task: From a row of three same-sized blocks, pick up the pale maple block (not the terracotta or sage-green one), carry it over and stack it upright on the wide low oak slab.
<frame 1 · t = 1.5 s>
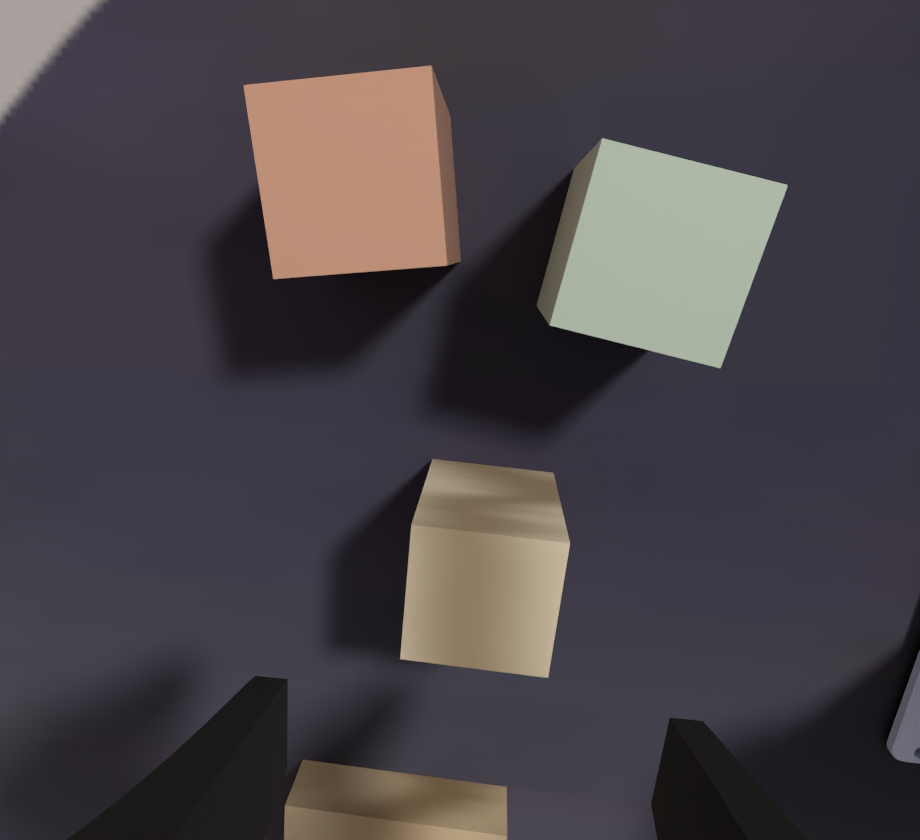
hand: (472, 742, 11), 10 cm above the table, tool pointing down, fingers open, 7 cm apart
maple block: (486, 520, 21), on the table
sage block: (619, 255, 18), on the table
terracotta block: (388, 196, 18), on the table
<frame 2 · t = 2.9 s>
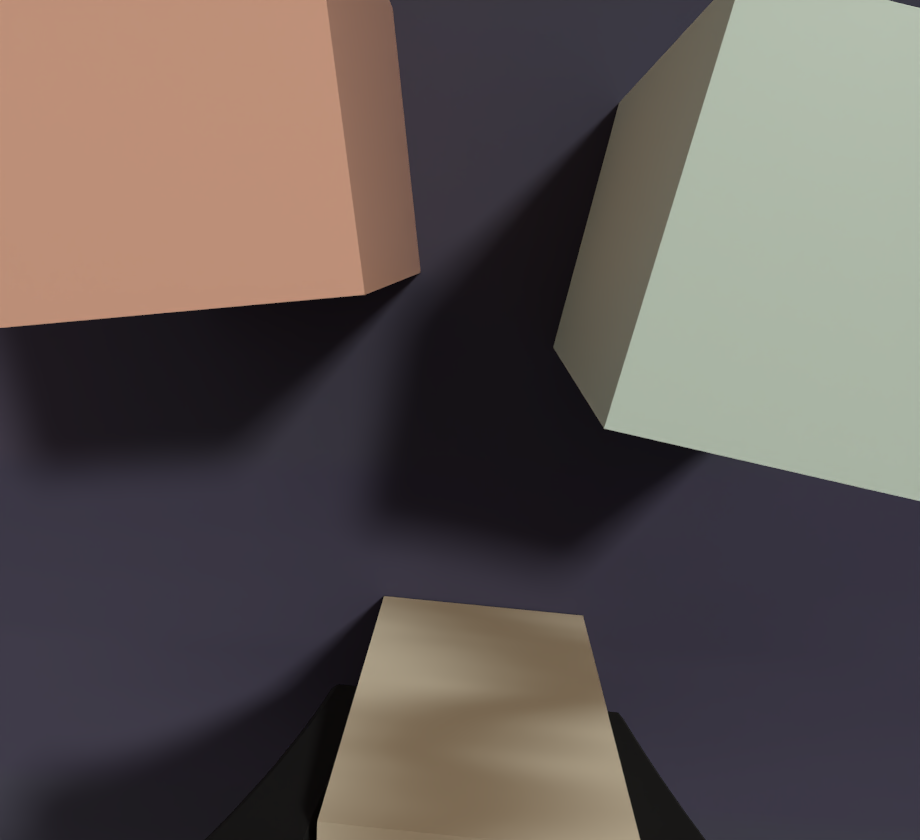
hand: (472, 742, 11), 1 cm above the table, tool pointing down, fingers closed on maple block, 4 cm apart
maple block: (474, 689, 13), on the table, touching gripper
sage block: (698, 258, 10), on the table
terracotta block: (288, 160, 10), on the table
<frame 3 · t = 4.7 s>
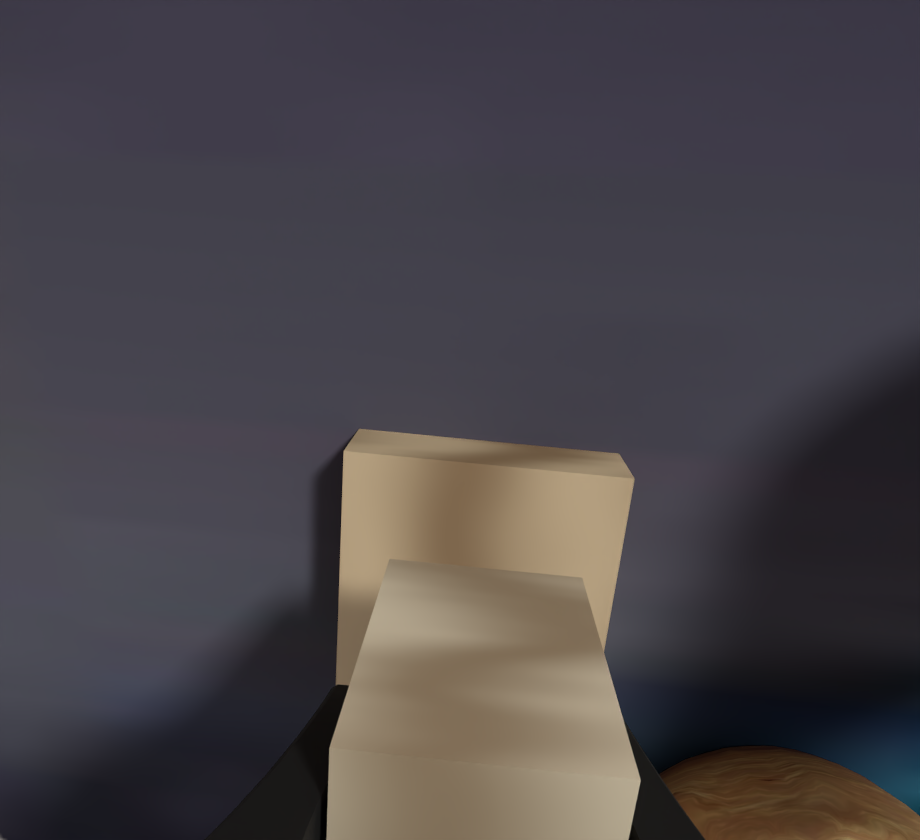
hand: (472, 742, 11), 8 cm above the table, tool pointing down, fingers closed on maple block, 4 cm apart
maple block: (476, 651, 13), point 6 cm above the table, touching gripper
oak slab: (476, 551, 20), on the table
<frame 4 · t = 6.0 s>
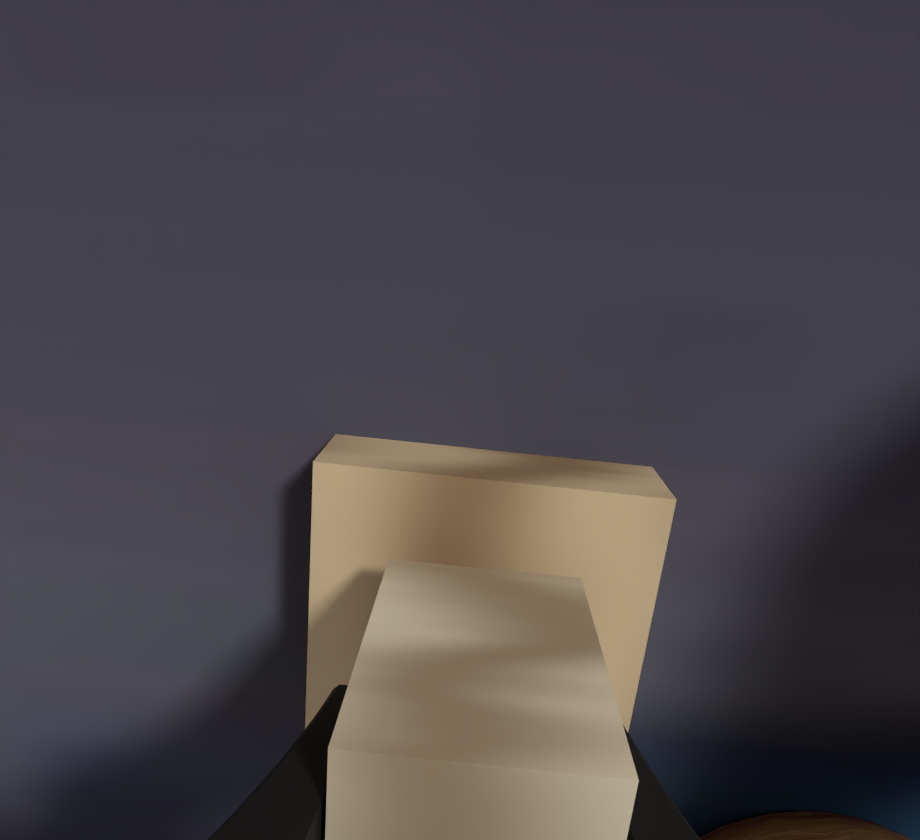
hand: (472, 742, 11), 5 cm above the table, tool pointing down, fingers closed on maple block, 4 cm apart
maple block: (475, 651, 13), point 3 cm above the table, touching gripper
oak slab: (477, 581, 17), on the table
when the fingers open (5 cm above the table, at t = 6.2 s): maple block drops 1 cm, resting on oak slab.
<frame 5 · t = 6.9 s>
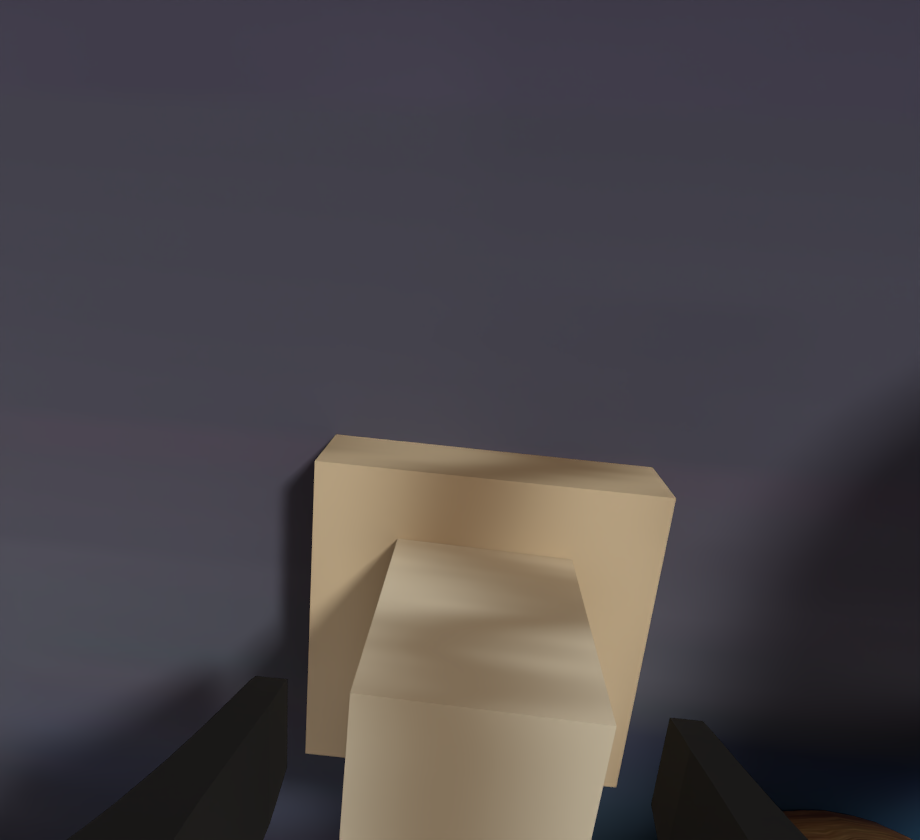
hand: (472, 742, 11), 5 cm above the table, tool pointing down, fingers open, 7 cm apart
maple block: (474, 624, 14), point 2 cm above the table, touching oak slab
oak slab: (477, 580, 17), on the table, touching maple block
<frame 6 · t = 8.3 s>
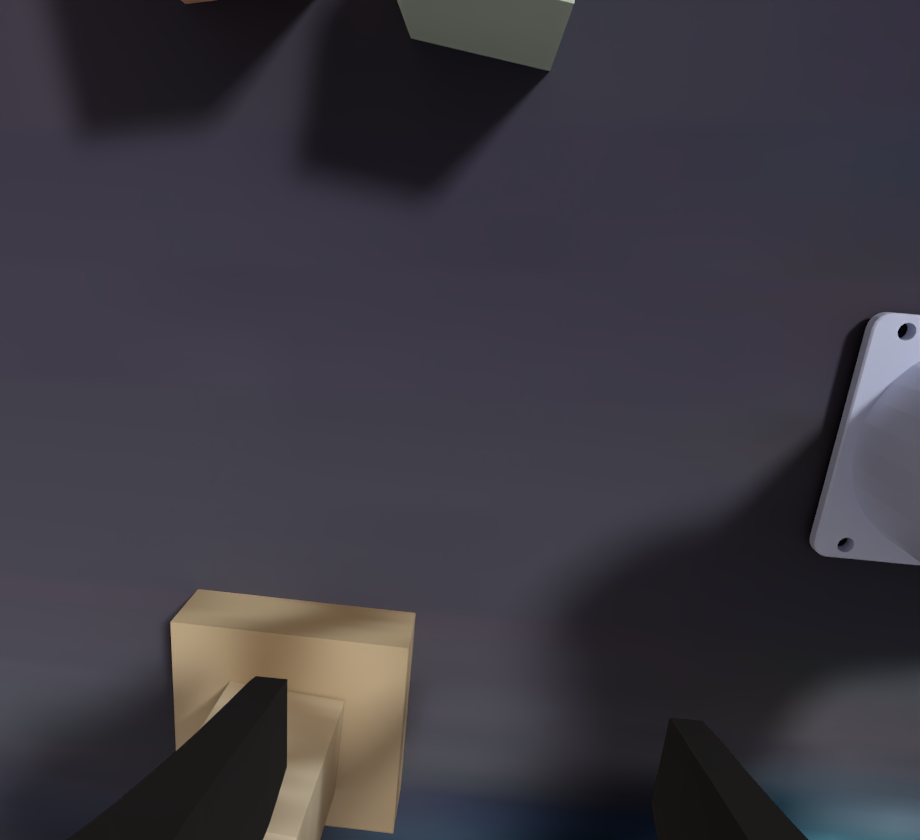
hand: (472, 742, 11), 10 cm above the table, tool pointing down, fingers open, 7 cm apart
maple block: (283, 738, 21), point 2 cm above the table, touching oak slab
oak slab: (307, 683, 24), on the table, touching maple block
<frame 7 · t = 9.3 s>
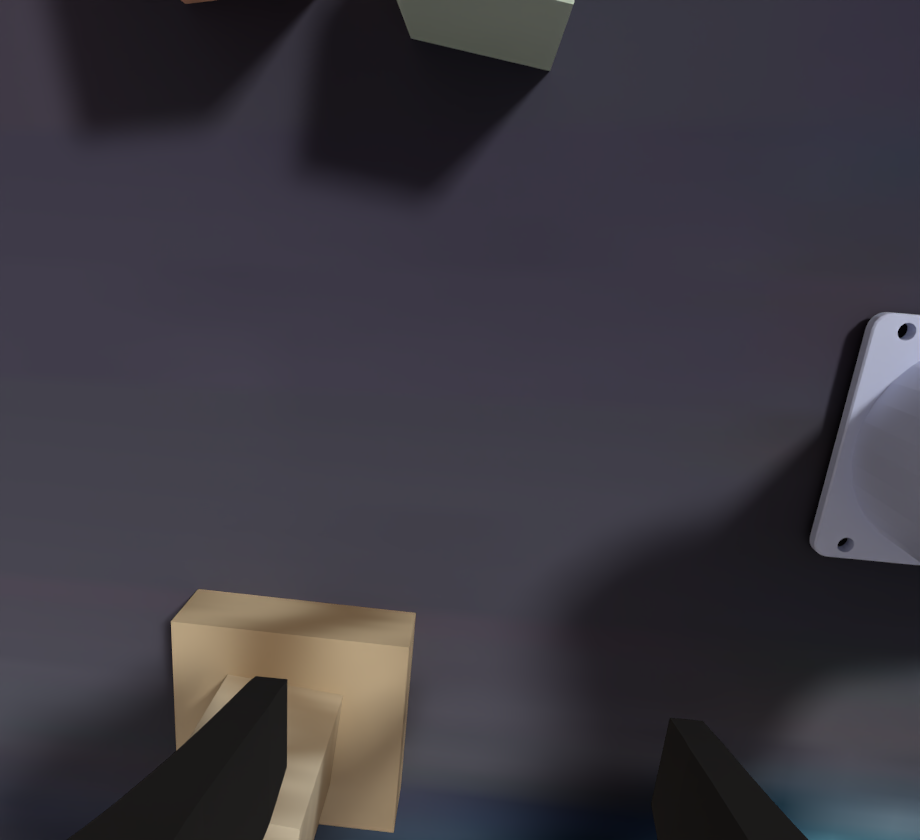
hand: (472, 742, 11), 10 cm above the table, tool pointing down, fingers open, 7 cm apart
maple block: (280, 731, 21), point 2 cm above the table, touching oak slab
oak slab: (307, 683, 24), on the table, touching maple block
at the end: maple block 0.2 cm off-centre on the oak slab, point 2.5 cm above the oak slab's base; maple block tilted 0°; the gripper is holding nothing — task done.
